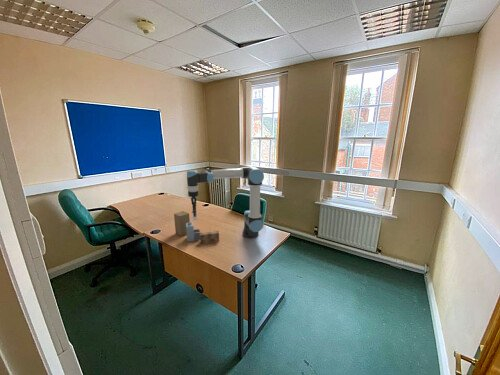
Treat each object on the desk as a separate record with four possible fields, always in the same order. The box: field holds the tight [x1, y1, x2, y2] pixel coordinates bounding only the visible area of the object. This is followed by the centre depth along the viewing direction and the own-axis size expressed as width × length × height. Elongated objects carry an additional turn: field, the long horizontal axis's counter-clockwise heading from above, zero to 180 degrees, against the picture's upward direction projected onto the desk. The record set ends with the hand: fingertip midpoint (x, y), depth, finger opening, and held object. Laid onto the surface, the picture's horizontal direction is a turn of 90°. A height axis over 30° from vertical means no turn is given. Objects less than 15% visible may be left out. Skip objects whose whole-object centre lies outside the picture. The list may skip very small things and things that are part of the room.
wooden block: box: [173, 210, 191, 237], centre depth 195 cm, size 10×10×20 cm
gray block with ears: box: [186, 221, 201, 242], centre depth 185 cm, size 11×8×16 cm
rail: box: [199, 230, 220, 244], centre depth 181 cm, size 16×4×8 cm, turn 106°
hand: (194, 217), depth 163 cm, fingers open, 13 cm apart
